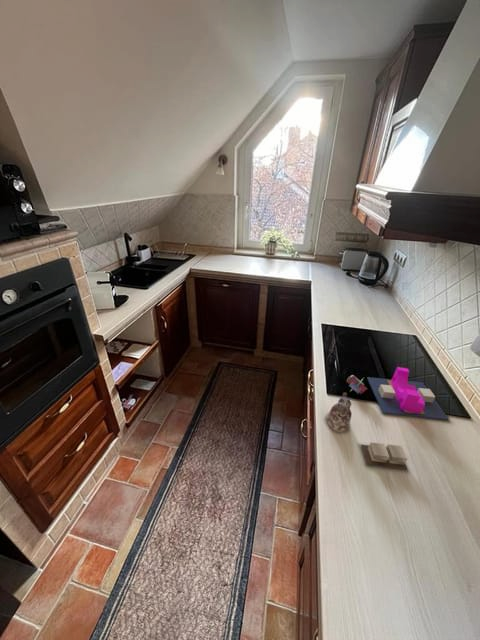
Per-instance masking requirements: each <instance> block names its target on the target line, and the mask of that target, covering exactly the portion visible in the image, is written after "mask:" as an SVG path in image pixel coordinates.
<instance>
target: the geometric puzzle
mask: <svg viewBox="0 0 480 640" xmlns="http://www.w3.org/2000/svg"><path fill="white" fill-rule="evenodd" d="M361 378H362V379H361V380H360V379H359V377H357V376H356V375H354V374H352V375H349V376H348V378H347V379H346V383H347V384H348V387H349V388H348V390H349V393H352V394H354V392H355V393H356V394H357V395H362V394H363V393H364V392H366V391H367V390H368V388H369V387H367V386H366V383H364V382H363V381H364V380H365V377H361ZM350 388H351V389H350ZM352 391H354V392H352Z"/></svg>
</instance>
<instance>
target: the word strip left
mask: <svg viewBox="0 0 480 640" xmlns="http://www.w3.org/2000/svg"><path fill="white" fill-rule="evenodd" d="M360 447H361V451H362V454H363V457H364V460H365V463H366V466H368V467H369V466H370V467H379V468H387V469H394V470H402V471H403V470H404V471H407V470H408V466H407V464H406V463H407V461H408V457H407V454H406V452H405V449H404V448H403V446H402V445H396V444H387V445H385V443H381V442H373V441H372V442H369V445H367V444H361V445H360Z"/></svg>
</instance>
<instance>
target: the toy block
mask: <svg viewBox="0 0 480 640" xmlns="http://www.w3.org/2000/svg"><path fill="white" fill-rule="evenodd" d="M409 375H410V370H409V368H407V367H401V366H397V367H396V369H395V371H394V374H393V376H392V378H391V379H392V380H391V382H392V385H393V388H394V391H395V394H396V397H397V400H398V403H399V406H400V409H401V410H406V411H411V412H416V413H421V411H422V409H423V408H424V406H425V403H424V401H423V399H422V396H420V395H419V392H418V391H416V389H415V386H413V385H408V381H409Z"/></svg>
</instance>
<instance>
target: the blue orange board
mask: <svg viewBox="0 0 480 640" xmlns="http://www.w3.org/2000/svg"><path fill="white" fill-rule="evenodd" d="M366 380H367V382H368V384H369V387H370V389H371V391H372V394H373V395H374V398H375V401H376V402H377V404H378V406H379V409H380V412H381V413H382V414H383V415H391V416H392V415H393V416H400V417H401V416H403V417H411V418H419V419H420V418H422V419H431V420H437V421H439V420H441V421H449V420H450V418H449V417H448V416H447V414H446V412H445V411H444V409H442V407H441V406H440V404H439V403H438V401H437V400H436V396H435V394H434V393H433V392H432V390H431V389H430V388H427V386H426V384H425V383H424V382H423V381H414V380H413V381H412V380H408V385H413V386H415V389H416V391H418V392H419V395H420V396H422V399H423V401H424V403H425V406H424V408H423V409H422V411H421V413H416V412H411V411H406V410H401V409H400V406H399V403H398V400H397V397H396V394H395V391H394V388H393V385H392V382H391V380H392V378H381V377H380V378H379V377H372V376H371V377H370V376H368V377H366Z"/></svg>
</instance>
